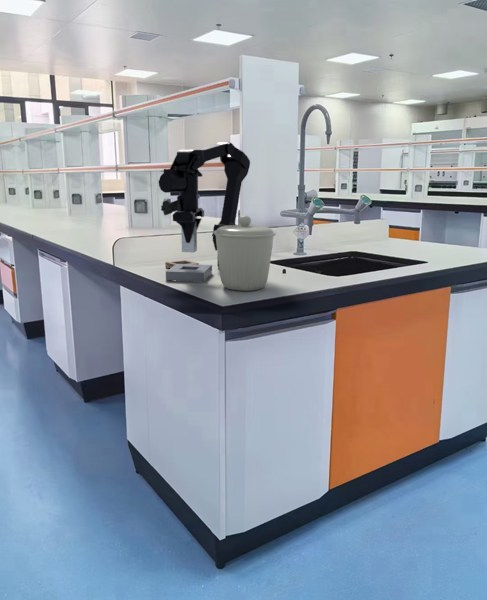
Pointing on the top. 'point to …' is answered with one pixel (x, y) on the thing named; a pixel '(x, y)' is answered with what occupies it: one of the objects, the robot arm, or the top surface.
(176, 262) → the walnut stand collar
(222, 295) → the top surface
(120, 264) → the top surface
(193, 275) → the grey flat block
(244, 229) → the canister
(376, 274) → the top surface
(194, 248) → the steel key peg
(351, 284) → the top surface
